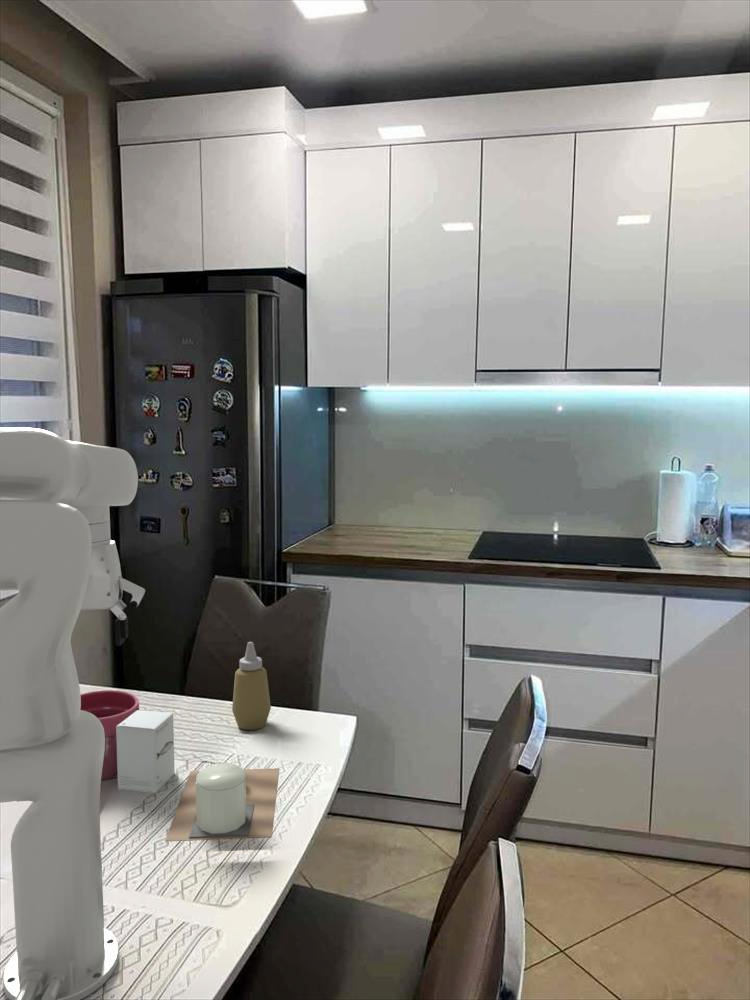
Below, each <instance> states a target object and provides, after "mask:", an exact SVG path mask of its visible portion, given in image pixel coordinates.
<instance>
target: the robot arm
mask: <svg viewBox="0 0 750 1000" xmlns="http://www.w3.org/2000/svg"><path fill="white" fill-rule="evenodd" d="M136 465H137V464H136V463H135V460H134V458H133V457H132V455H131V454H130V453H129V452H128V451H127V450H124V449H121V448H118V447H111V446H104V445H103V446H102V445H96V444H92V443H91V444H90V443H85V442H80V441H74V440H73V441H72V440H66V439H64V438H63V437H61V436H59V435H57V434H56V433H54V432H51V431H48V430H45V429H42V428H35V427H34V428H33V427H0V591H1V592H2V591H18V593H16V595H15V596H14V597H12V598H11V599H10V600H8V601H7V602H5V604H3V605H2V606H1V607H0V804H1V803H2V804H3V803H10V802H17V803H18V802H19V803H20V802H31V803H30V805H28V807H27V808H26V810H24V812H23V814H22V815H21V817H19V819H18V821H17V824H16V825H15V827H14V829H13V832H12V835H11V839H10V855H11V856H10V857H11V869H12V870H11V874H12V890H13V892H12V893H13V907H14V908H13V909H14V926H15V944H16V945H15V946H16V948H15V949H16V952H15V953H14V954H13V955H12V956H11V958H10V959H9V961H8V962H7V964H6V966H5V968H4V971H3V977H2V978H3V979H2V985H3V992H4V994H5V996H6V998H7V999H8V1000H82V999H84V998H86V997H88V996H89V995H91V994H93V993H94V992H96V991H97V990H98V989H99V988H100V987H102V986H104V984H105V983H106V982H107V980H109V978H111V976H112V975H113V974H114V971H115V970H116V968H117V965H118V963H119V957H120V949H119V948H120V947H119V942H118V940H117V937H116V936H115V935H114V934H113V933H112V932H111V930H108V929H107V928H105V915H104V891H103V868H102V867H103V865H102V842H101V841H102V840H101V837H102V836H101V813H100V810H101V807H100V805H101V783H102V781H101V776H102V768H103V760H104V751H105V734H104V728H103V726H102V724H101V722H100V720H99V719H98V718H97V717H96V716H95V715H93V714H91V713H89V712H87V711H83V710H80V708H81V694H82V693H81V686H80V682H79V677H78V672H77V666H76V663H75V658H74V654H73V650H72V643H71V638H72V634H73V631H74V628H75V626H76V623H77V621H78V618H79V615H80V613H81V611H104V610H105V611H106V610H110V611H111V612H112V613H113V614H114V615H115V616H116V619H115V620H114V640H115V642H114V643H115V645H116V646H118V647H120V646H121V645H123V643H125V641H126V639H128V638H129V616H130V615H131V614H132V613H133V612H134V611H135V610H136V608H138V607H139V605H140V603H141V601H142V599H143V597H144V595H145V592H146V589H145V588H144V587H141V586H139V585H137V584H136V583H133V582H131V581H129V580H127V579H125V578H123V576H122V571H121V570H122V569H121V563H120V558H119V557H120V556H119V553H118V549H117V545H116V541H115V540H112V538H111V537H112V536H111V518H110V517H111V516H110V515H111V513H110V507H118V506H119V507H123V506H129V505H130V504H131V503H132V502H133V500H134V499H135V497H136V494H137V493H138V492H137V490H138V485H139V475H138V469H137V466H136ZM123 591H124V592H126V593H129V594H131V596H132V597H131V600H130V602H129V603H128V604H127V605H126V603H124V601H123V600H122V599H123V593H124V592H123Z"/></svg>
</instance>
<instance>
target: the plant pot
mask: <svg viewBox="0 0 750 1000" xmlns="http://www.w3.org/2000/svg"><path fill="white" fill-rule="evenodd" d="M80 694H81V708H80V710H83V711H87V712H89V713H91V714H93V715H95V716H96V717H97V718H98V719H99V720H100V722H101V724H102V726H103V728H104V734H105V751H104V760H103V768H102V776H101V782H102V781H106V780H111V779H113V778H114V777H118V772H117V740H116V726H117V725H119V724H120V723H121V722H122V721H124V720H125V719H126V718H128V717H129V716H130V715H132V714H133V713H134V712H135V711H137V710H140V701H139V698H138V697H137V696H136V695H135V694H133V693H131V692H129V691H128V692H127V691H125V690H124V691H122V690H117V689H116V690H115V689H114V690H113V689H112V690H111V689H109V690H107V689H106V690H103V689H102V690H94V691H88V692H85V693H80Z"/></svg>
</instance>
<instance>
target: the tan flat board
mask: <svg viewBox="0 0 750 1000" xmlns="http://www.w3.org/2000/svg"><path fill="white" fill-rule="evenodd" d="M242 769H243V770H244V771H245V774H246V820H245V823H244V824H243V825H242V826H240V827H239V828H238V829H236V830H233V831H230V832H227V833H216V834H211V833H208V832H205V831H202V830H201V829H200V828H199V827H198V825H197V816H196V777H197V774H198V773H199V772H200V771H201V770H190V771H189V774H188V777H187V780H186V782H185V784H184V788H183V791H182V793H181V796H180V798H179V801H178V803H177V807H176V810H175V812H174V815H173V818H172V820H171V824H170V826H169V829H168V832H167V834H166V837H165V842H182V841H184V842H185V841H187V842H188V841H209V840H210V841H211V840H212V841H214V840H228V839H229V840H234V839H235V840H237V839H260V838H261V839H262V838H263V839H264V838H273V837H272V836H273V828H274V818H275V810H276V803H277V802H276V800H277V794H278V793H277V792H278V783H279V775H280V768H279V767H278V768H277V767H275V768H250V769H249V768H248V769H247V768H245V769H244V768H242Z"/></svg>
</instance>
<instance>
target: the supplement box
mask: <svg viewBox="0 0 750 1000" xmlns="http://www.w3.org/2000/svg"><path fill="white" fill-rule="evenodd" d="M174 733H175V732H174V712H165V711H152V710H140V709H139V710H137V711H135V712H134V713H133V714H132V715H130V716H129V717H128V718H126V719H125V720H124V721H122V722H121V723H120V724H119V725H117V726H116V740H117V772H118V775H117V789H118V790H122V791H123V790H124V791H130V792H132V791H133V792H141V793H151V794H156V793H157V792H158V791H159V790H161V788H163V786H164V785H165V784H167V782H169V780H170V779H171V778H172V777H173V776H174V775H175V774H176V773H175V736H174Z"/></svg>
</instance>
